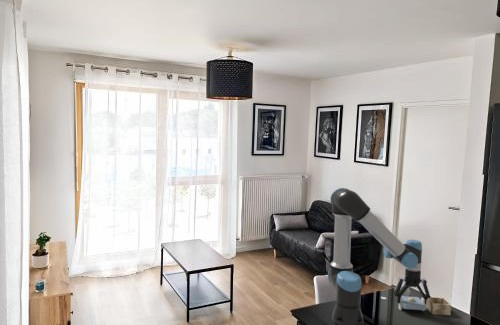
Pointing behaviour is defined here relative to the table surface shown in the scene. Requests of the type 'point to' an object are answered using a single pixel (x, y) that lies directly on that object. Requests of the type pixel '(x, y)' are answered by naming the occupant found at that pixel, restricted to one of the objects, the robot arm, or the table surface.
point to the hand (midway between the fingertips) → (411, 309)
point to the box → (438, 306)
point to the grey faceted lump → (405, 291)
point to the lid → (413, 303)
